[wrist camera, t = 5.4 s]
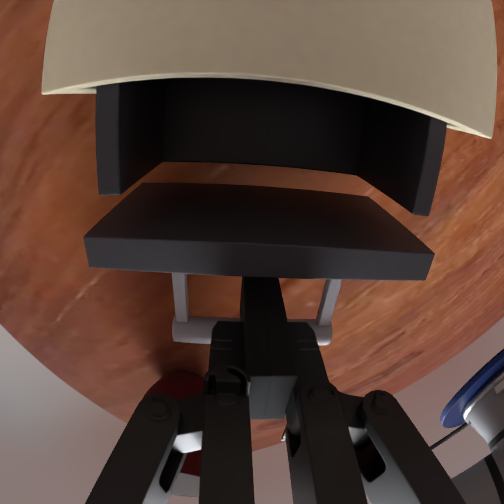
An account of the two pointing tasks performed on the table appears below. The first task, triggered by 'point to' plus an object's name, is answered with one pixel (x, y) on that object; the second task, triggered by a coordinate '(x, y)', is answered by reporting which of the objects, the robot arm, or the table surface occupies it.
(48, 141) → the table surface
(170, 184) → the dark grey drawer
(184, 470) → the mug
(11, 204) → the table surface
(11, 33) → the table surface
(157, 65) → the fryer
